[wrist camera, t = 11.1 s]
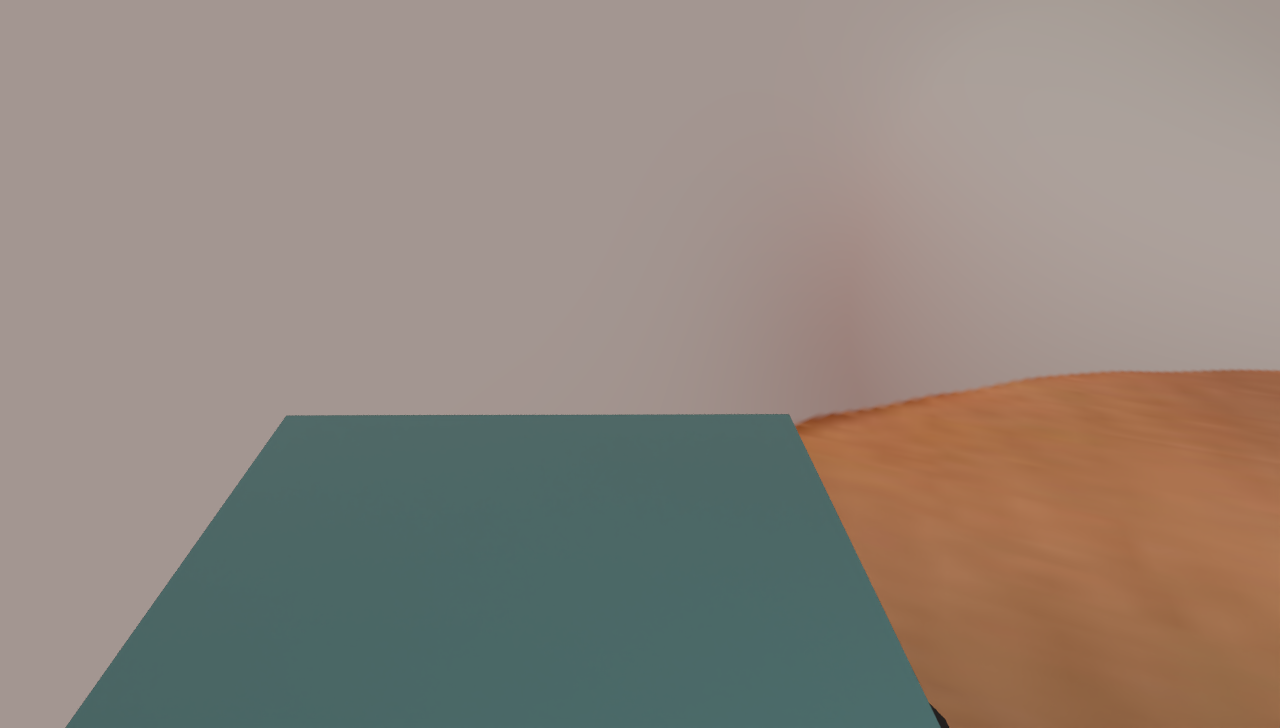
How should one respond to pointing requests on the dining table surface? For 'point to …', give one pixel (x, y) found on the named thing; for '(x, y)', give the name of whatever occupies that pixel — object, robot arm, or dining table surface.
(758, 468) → the teal rectangular prism
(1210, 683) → the dining table surface
